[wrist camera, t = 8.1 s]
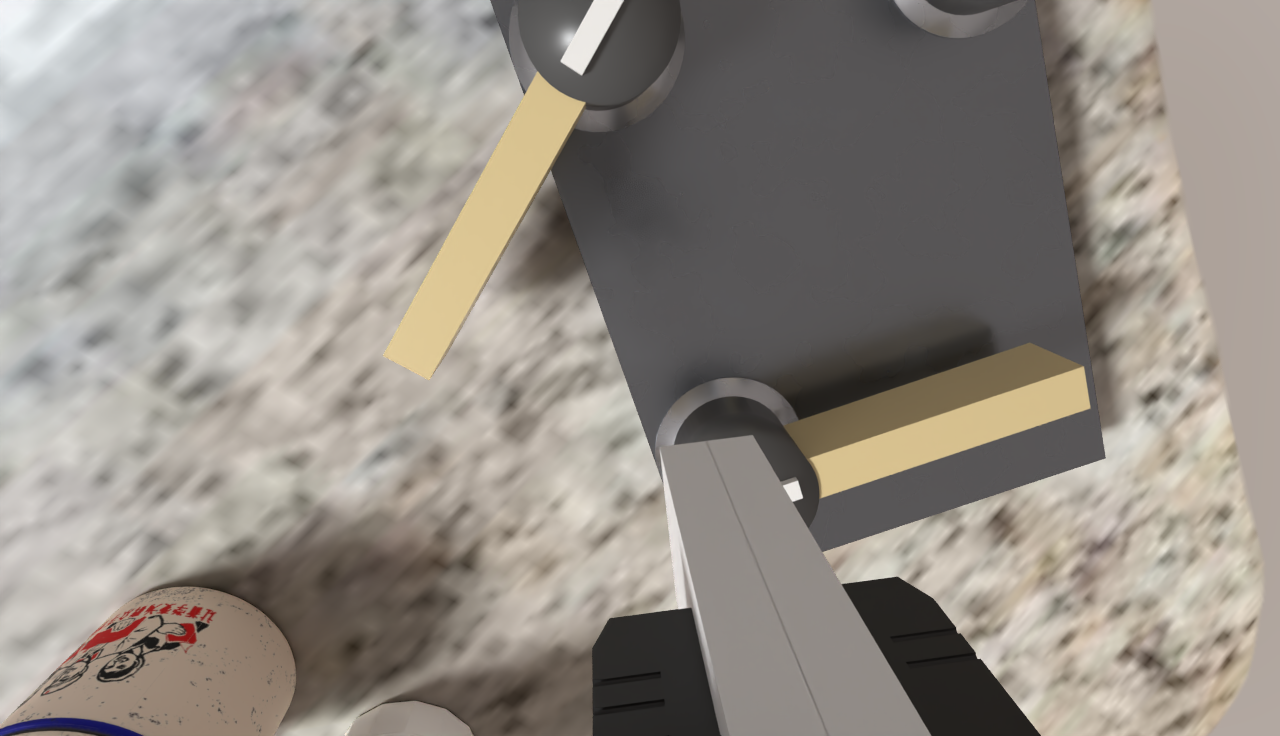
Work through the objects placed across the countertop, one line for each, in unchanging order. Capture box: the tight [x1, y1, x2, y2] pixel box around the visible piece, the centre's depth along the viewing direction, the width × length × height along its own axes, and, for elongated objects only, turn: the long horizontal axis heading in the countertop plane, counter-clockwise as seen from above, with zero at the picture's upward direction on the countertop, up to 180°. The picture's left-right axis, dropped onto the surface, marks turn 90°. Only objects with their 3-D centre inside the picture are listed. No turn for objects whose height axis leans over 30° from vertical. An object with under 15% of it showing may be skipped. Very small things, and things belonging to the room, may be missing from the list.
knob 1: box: [383, 0, 681, 380], centre depth 24 cm, size 14×5×5 cm, turn 148°
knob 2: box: [674, 343, 1090, 528], centre depth 27 cm, size 14×5×5 cm, turn 108°
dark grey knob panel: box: [490, 0, 1105, 552], centre depth 29 cm, size 28×19×2 cm
